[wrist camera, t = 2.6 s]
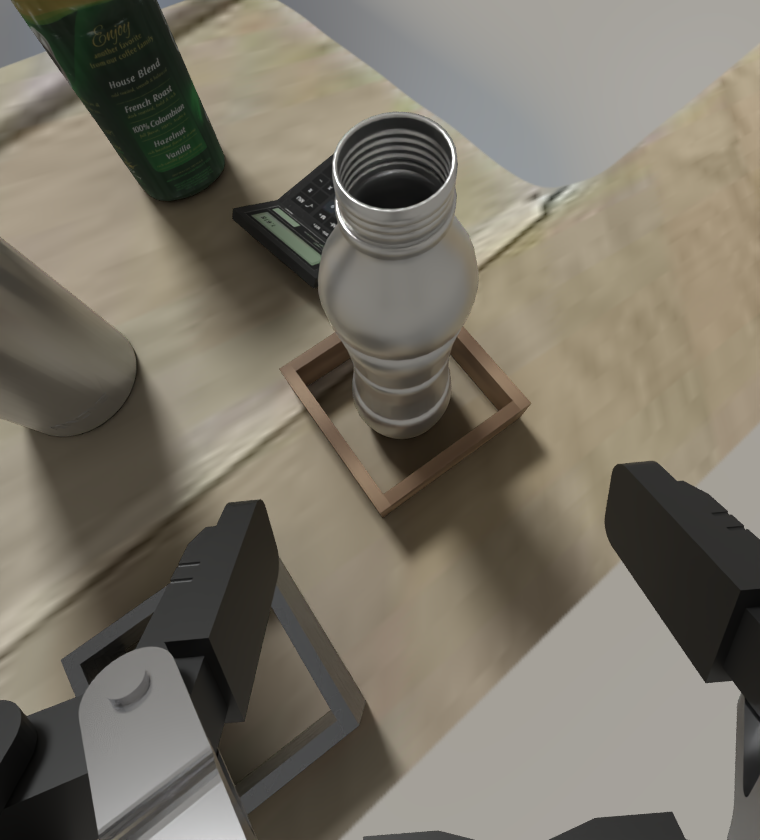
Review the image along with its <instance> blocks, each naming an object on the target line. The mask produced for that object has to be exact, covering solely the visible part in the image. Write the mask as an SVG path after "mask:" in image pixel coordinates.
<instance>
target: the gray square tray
mask: <svg viewBox="0 0 760 840" xmlns="http://www.w3.org/2000/svg"><path fill="white" fill-rule="evenodd" d="M167 586H168V585H167ZM167 586H166V587H164V588H163V589H161V590H160V591H159V592H157V593H156V594H154V595H153V596H151V597H150V598H149V599H147V600H146V601H144V602H143V603H141V604H140V605H139V606H137V607H136V608H134V609H133V610H131V611H130V612H129V613H127V614H126V615H124V616H123V617H121V618H120V619H119V620H117V621H116V622H114V623H113V624H111V625H110V626H109V627H107V628H106V629H104V630H103V631H101V632H100V633H99V634H97V635H96V636H94V637H93V638H92V639H90V640H89V641H87V642H86V643H84V644H83V645H82V646H80V647H79V648H77V649H76V650H74V651H73V652H72V653H70V654H69V655H67V656H66V657H64V658H63V659H62V660H61V662H62V664H63V667H64V669H65V672H66V674H67V677H68V679H69V681H70V684H71V686H72V689H73V691H74V693H75V696H76V697H78V696H80V695H82V694H84V693H85V691H86V690H87V688H88V687H89V685H90V684H91V682H92V681H93V680H94V679H95V677H96V676H97V675H98V674H99V673H100V672H101V671H102V670H103V669H104V668H105V667H106V666H108V665H109V664H110V663H111V662H113V661H114V660H116V659H117V658H119V657H121V656H122V655H124V654H126V651H125V650H126V649H127V648H128V647H130V646H131V645H133V644H134V643H135V642H137V641H138V640H140V639H141V637H142V635H143V633H144V631H145V629H146V627H147V625H148V623H149V621H150V619H151V617H152V615H153V613H154V611H155V609H156V607H157V605H158V603H159V601H160V599H161V597H162V595H163V593H164V591H165V589H166V588H167ZM271 607H272V609H273V610H274V612H275V614H276V616H277V617H278V619H279V621H280V622H281V624H282V626H283V628H284V629H285V631H286V633H287V635H288V636H289V638H290V640H291V642H292V643H293V645H294V647H295V648H296V650H297V652H298V654H299V655H300V657H301V659H302V661H303V662H304V664H305V666H306V667H307V669H308V671H309V673H310V674H311V676H312V678H313V680H314V681H315V683H316V685H317V687H318V688H319V690H320V692H321V693H322V695H323V697H324V699H325V700H326V702H327V704H328V706H329V707H330V709H331V710H330V711H329V712H328V713H327V714H325V715H324V716H323V717H321V718H320V719H319V720H318V721H316V722H315V723H314V724H313V725H311V726H310V727H309V728H307V729H306V730H305V731H304V732H302V733H301V734H300V735H299V736H297V737H296V738H295V739H293V740H292V741H291V742H290V743H288V744H287V745H286V746H285V747H283V748H282V749H281V750H279V751H278V752H277V753H276V754H274V755H273V756H272V757H271V758H269V759H268V760H267V761H265V762H264V763H263V764H262V765H260V766H259V767H258V768H257V769H255V770H254V771H253V772H251V773H250V774H249V775H248V776H246V777H245V778H244V779H243V780H241V781H240V782H239V783H237V784H236V785H235V787H236V790H237V792H238V794H239V796H240V799H241V801H242V803H243V806H244V808H245V810H246V813H247V815H248V814H249V813H250V812H251V811H253V810H254V809H255V808H256V807H258V806H259V805H260V804H261V803H263V802H264V801H265V800H266V799H268V798H269V797H270V796H271V795H273V794H274V793H275V792H276V791H278V790H279V789H280V788H281V787H283V786H284V785H285V784H286V783H288V782H289V781H290V780H291V779H293V778H294V777H295V776H296V775H298V774H299V773H300V772H301V771H303V770H304V769H305V768H306V767H308V766H309V765H310V764H311V763H313V762H314V761H315V760H316V759H318V758H319V757H320V756H321V755H323V754H324V753H325V752H326V751H328V750H329V749H330V748H331V747H333V746H334V745H335V744H336V743H338V742H339V741H340V740H341V739H343V738H344V737H345V736H346V735H348V734H349V733H350V732H351V731H353V730H354V729H355V728H356V727H358V726H359V724H360V721H361V717H362V714H363V710H364V707H365V703H366V700H365V699H364V697H363V695H362V694H361V692H360V690H359V689H358V687H357V685H356V684H355V682H354V680H353V679H352V677H351V675H350V674H349V672H348V670H347V669H346V667H345V665H344V664H343V662H342V660H341V659H340V657H339V655H338V654H337V652H336V651H335V649H334V647H333V646H332V644H331V642H330V641H329V639H328V637H327V636H326V634H325V632H324V631H323V629H322V627H321V626H320V624H319V622H318V621H317V619H316V617H315V616H314V614H313V612H312V611H311V609H310V607H309V606H308V604H307V603H306V601H305V599H304V598H303V596H302V594H301V593H300V591H299V589H298V588H297V586H296V584H295V583H294V581H293V579H292V578H291V576H290V574H289V573H288V571H287V569H286V568H285V566H284V564H283V563H282V561H281V559H280V558H279V573H278V579H277V583H276V587H275V592H274V596H273V600H272V605H271Z"/></svg>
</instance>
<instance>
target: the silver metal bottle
mask: <svg viewBox="0 0 760 840" xmlns="http://www.w3.org/2000/svg"><path fill="white" fill-rule="evenodd" d="M457 166H458V163H457V153H456V147H455V145H454V143H453V140H452V138H451V137H450V136H449V134H448V133H447V131H446V130H445V129H444V128H442V127H441V126H440V125H439V124H438V123H436V122H435V121H433V120H431V119H429V118H427V117H425V116H422V115H419V114H415V113H409V112H389V113H382V114H379V115H375V116H372V117H370V118H367V119H365V120H363V121H361V122H360V123H358V124H357V125H355V126H354V127H352V128H351V129H350V130H349V131H348V132H347V133H346V134H345V135H344V136H343V138H342V139H341V140H340V142H339V143H338V145H337V147H336V150H335V152H334V156H333V161H332V178H333V184H334V189H335V194H336V197H335V212H336V217H337V222H338V224H337V225H336V227H335V228H334V230H333V231H332V233H331V234H330V236H329V237H328V239H327V241H326V244H325V246H324V248H323V251H322V255H321V261H320V267H319V274H318V293H319V297H320V301H321V305H322V308H323V310H324V312H325V314H326V316H327V318H328V320H329V322H330V324H331V326H332V328H333V330H334V331H335V332H336V334H337V335H338V337H339V338H340V340H341V341H342V343H343V344H344V346H345V347H346V349H347V350H348V353H349V355H350V358H351V360H352V363H353V368H354V373H353V380H352V391H353V400H354V404H355V407H356V409H357V411H358V413H359V415H360V416H361V418H362V419H363V420H364V421H365V423H367V424H368V425H369V426H370V427H371V428H373V429H374V430H375V431H376V432H378V433H380V434H382V435H384V436H387V437H390V438H395V439H407V438H412V437H416V436H419V435H421V434H423V433H424V432H426V431H428V430H429V429H430V428H431V427H432V426H434V425H435V424H436V423H437V422H438V420H439V419H440V418H441V417H442V415H443V414H444V412H445V410H446V409H447V407H448V404H449V401H450V397H451V377H450V370H449V367H448V361H449V355H450V352H451V349H452V346H453V343H454V341H455V339H456V337H457V336H458V334H459V332H460V330H461V328H462V327H463V325H464V323H465V321H466V319H467V317H468V316H469V314H470V311H471V308H472V306H473V303H474V300H475V297H476V293H477V290H478V278H479V273H478V267H477V261H476V256H475V251H474V247H473V244H472V242H471V239H470V237H469V234H468V233H467V231H466V230H465V228H464V227H463V225H462V224H461V223H460V221H459V220H458V219H457V218H456V216H455V208H456V197H457V195H456V189H455V184H456V176H457Z"/></svg>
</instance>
